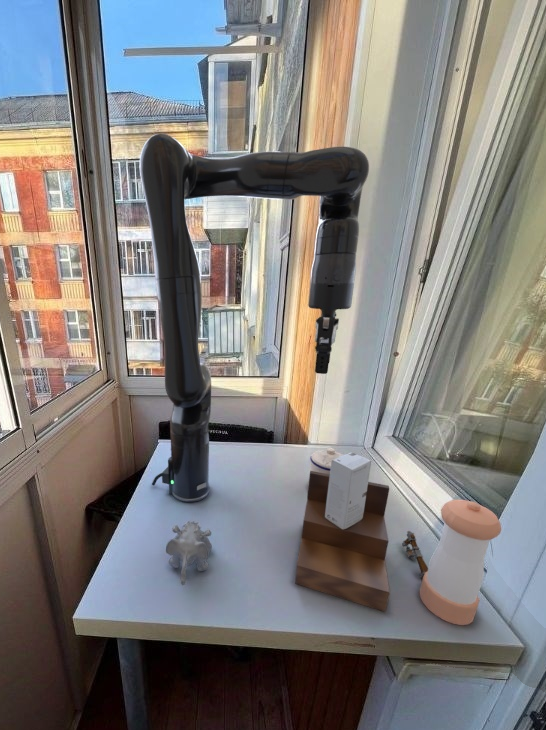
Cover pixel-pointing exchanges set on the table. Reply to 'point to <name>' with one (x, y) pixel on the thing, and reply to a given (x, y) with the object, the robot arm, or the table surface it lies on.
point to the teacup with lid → (323, 460)
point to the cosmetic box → (347, 489)
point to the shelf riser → (345, 548)
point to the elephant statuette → (189, 548)
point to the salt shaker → (459, 561)
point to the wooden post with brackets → (415, 552)
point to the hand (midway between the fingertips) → (322, 368)
